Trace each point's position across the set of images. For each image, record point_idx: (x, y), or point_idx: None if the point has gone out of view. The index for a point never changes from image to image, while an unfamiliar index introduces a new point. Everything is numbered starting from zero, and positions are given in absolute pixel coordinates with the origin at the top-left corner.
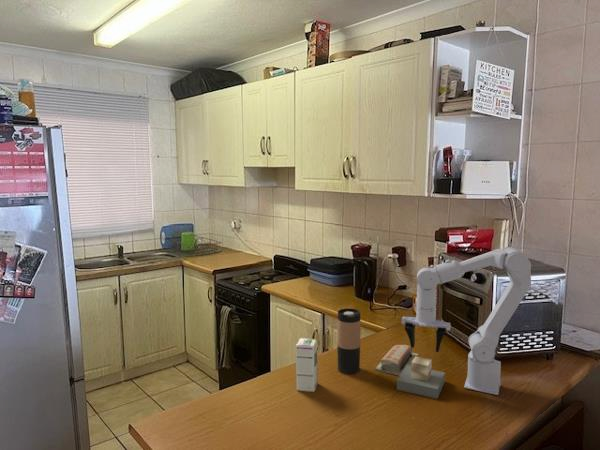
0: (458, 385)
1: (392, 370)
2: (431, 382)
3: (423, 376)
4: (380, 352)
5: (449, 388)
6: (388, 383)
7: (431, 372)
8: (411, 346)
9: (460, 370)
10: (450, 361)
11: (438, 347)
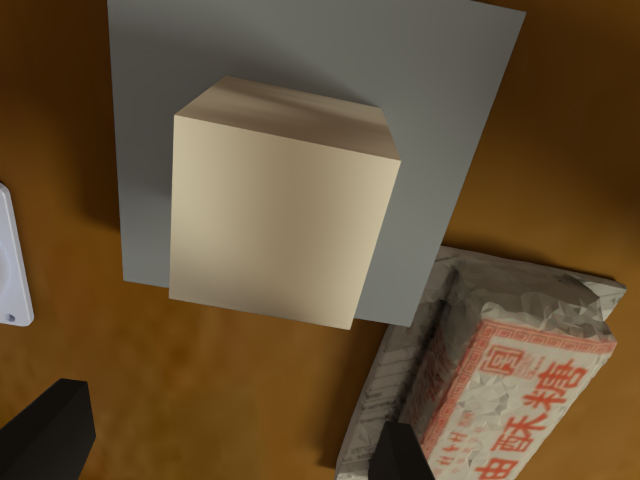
0: (58, 216)
1: (510, 271)
2: (189, 68)
3: (259, 93)
4: (541, 474)
5: (100, 157)
6: (551, 105)
7: None
8: (410, 436)
9: (97, 387)
10: (167, 456)
11: (2, 430)
